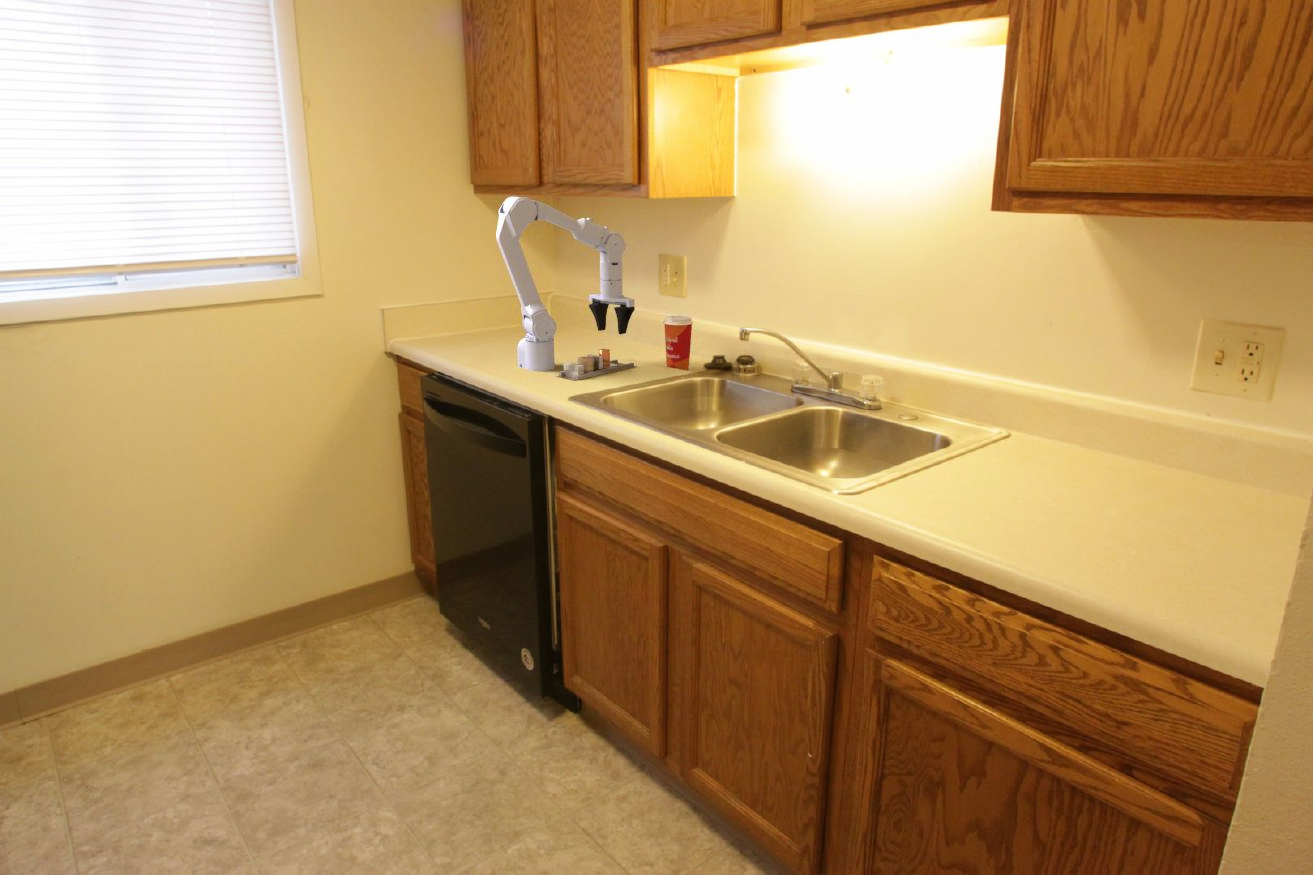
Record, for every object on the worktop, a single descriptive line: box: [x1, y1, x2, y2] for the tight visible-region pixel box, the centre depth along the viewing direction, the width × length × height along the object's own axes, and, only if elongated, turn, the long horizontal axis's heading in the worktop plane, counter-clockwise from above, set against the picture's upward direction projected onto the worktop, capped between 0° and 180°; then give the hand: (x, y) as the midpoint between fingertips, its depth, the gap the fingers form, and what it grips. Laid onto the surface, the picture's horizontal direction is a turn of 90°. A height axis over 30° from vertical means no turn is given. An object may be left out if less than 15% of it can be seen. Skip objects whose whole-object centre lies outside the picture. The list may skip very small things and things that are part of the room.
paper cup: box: [662, 315, 694, 372], centre depth 226 cm, size 8×8×14 cm
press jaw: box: [586, 348, 619, 371], centre depth 222 cm, size 4×7×5 cm, turn 138°
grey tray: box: [555, 359, 638, 382], centre depth 221 cm, size 7×22×4 cm, turn 138°
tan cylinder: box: [576, 356, 594, 373], centre depth 218 cm, size 4×4×4 cm
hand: (611, 332), depth 230 cm, fingers open, 7 cm apart
